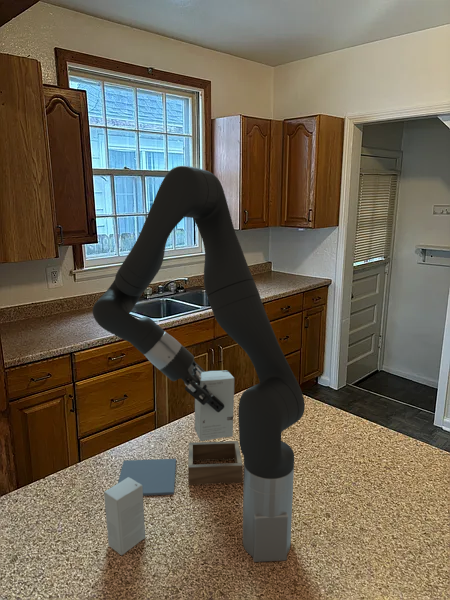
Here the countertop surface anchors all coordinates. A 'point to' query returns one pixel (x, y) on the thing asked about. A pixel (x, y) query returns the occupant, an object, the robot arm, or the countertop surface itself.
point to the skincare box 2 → (206, 417)
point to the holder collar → (214, 471)
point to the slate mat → (151, 475)
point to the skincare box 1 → (124, 515)
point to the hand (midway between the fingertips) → (220, 401)
